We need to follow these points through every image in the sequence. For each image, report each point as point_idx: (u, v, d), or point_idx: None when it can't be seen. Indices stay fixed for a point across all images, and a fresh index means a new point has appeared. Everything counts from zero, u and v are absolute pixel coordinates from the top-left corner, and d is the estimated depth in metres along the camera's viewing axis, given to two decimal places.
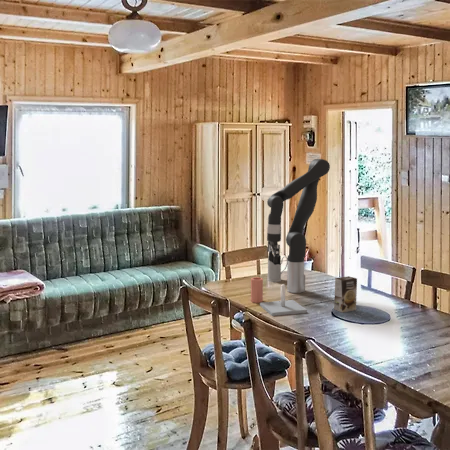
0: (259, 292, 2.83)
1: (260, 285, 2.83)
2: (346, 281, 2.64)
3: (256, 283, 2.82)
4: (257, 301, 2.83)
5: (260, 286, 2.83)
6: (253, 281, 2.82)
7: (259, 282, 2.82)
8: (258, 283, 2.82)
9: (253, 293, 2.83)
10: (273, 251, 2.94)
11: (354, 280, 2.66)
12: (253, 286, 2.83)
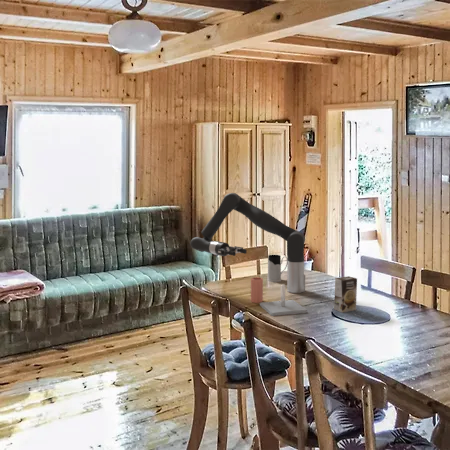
0: (259, 292, 2.83)
1: (260, 285, 2.83)
2: (346, 281, 2.64)
3: (256, 283, 2.82)
4: (257, 301, 2.83)
5: (260, 286, 2.83)
6: (253, 281, 2.82)
7: (259, 282, 2.82)
8: (258, 283, 2.82)
9: (253, 293, 2.83)
10: (226, 254, 2.93)
11: (354, 280, 2.66)
12: (253, 286, 2.83)
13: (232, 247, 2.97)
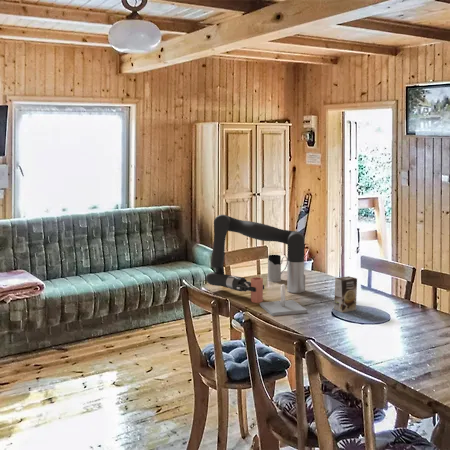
0: (259, 292, 2.83)
1: (260, 285, 2.83)
2: (346, 281, 2.64)
3: (256, 283, 2.82)
4: (257, 301, 2.83)
5: (260, 286, 2.83)
6: (253, 281, 2.82)
7: (259, 282, 2.82)
8: (258, 283, 2.82)
9: (253, 293, 2.83)
10: None
11: (354, 280, 2.66)
12: (253, 286, 2.83)
13: (249, 282, 2.90)
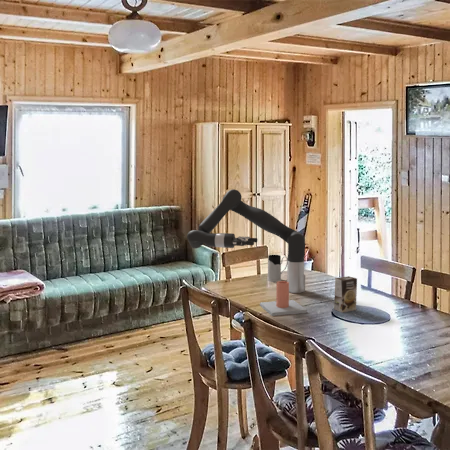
0: (287, 296, 2.69)
1: (288, 289, 2.69)
2: (346, 281, 2.64)
3: (285, 287, 2.68)
4: (286, 306, 2.69)
5: (288, 290, 2.69)
6: (282, 285, 2.67)
7: (288, 286, 2.69)
8: (287, 287, 2.68)
9: (282, 298, 2.68)
10: (241, 245, 2.78)
11: (354, 280, 2.66)
12: (282, 291, 2.68)
13: (241, 237, 2.83)
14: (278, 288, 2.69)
